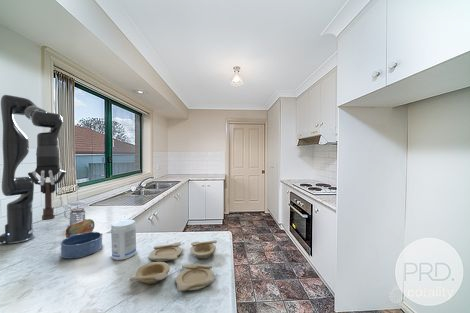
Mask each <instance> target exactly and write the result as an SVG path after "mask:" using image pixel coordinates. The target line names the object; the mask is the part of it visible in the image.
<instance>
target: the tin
mask: <svg viewBox="0 0 470 313" xmlns="http://www.w3.org/2000/svg"><path fill="white" fill-rule="evenodd" d="M81 220H82V221H80V222H77V223H74V224H71V225H70V224H69V225H70V226H69V225H68V226H69V227H68V226H67V227H66V229H65V233H64V234H65V239H66V238H68V237H70V236H73V235H77V234H81V233H87V232H94V229H95V221H94V219H91V218H88V219H87V218H85V220H83V219H81Z"/></svg>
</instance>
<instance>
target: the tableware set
mask: <svg viewBox="0 0 470 313" xmlns="http://www.w3.org/2000/svg"><path fill="white" fill-rule="evenodd" d="M217 242H218V241H217V240H216V239H215V240H207V241H192V242H191V243H190V245H191V247H190V248H189V252H190V254H191V255H193V256H195V257H196V258H197V259H207V258H210V256H211V255H212V254H213V253H215V252H216V250H217V246H216V245H215V244H217ZM181 245H182V244H181V241H177V242H173V243H171V244H164V245H162V244H161V245H155V246H153V250H151V252H150V253H149V257H148V260H149V261H153V262H150V263H146V264H145V265H142V266H141V267H139V268H138V269H137V270H136V272H135V275H134V276H130V277H129V281H130V282H133V281H134V282H135V281H139V282H142V283H144V284H147V285H153V284H156V283H158V282H160V281H161V280H164V279H166V278H168V274H169V272H170V270H171V269H170V264H168V262H169V261H177V260H178V257H179V256H180V255H181V254H182V251H183V250H182V248H181V247H180V246H181ZM166 262H167V263H166ZM181 268H182V269H183V270H181V271H180V272H179V273H178V274H177V276H176V277H175V283H176V290H177V293H178V292H185V291H196V290H201V289H203V288H205V287H207V286H208V285H212V284H214V283H215V281H214V277H215V276H214V272H213V270H212V268H213V265H211V264H210V265H209V264H196V263H182V265H181Z"/></svg>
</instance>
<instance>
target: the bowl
mask: <svg viewBox="0 0 470 313" xmlns="http://www.w3.org/2000/svg"><path fill="white" fill-rule="evenodd" d="M102 247H103V234H102V232H99V231H92V232H87V233H81V234H77V235H73V236H70V237H68V238H66V237H65V238H63V239H62V241H60V255H61V256H60V257H61V258H64V259H77V258H82V257H86V256H89V255H91V254H94V253H96V252H98V251H100V249H102Z"/></svg>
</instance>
